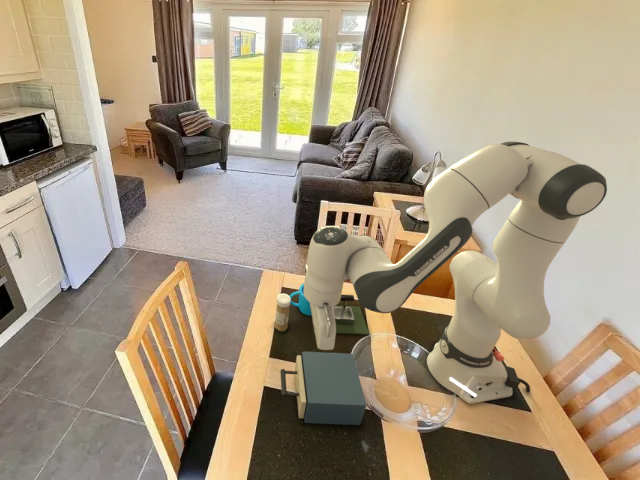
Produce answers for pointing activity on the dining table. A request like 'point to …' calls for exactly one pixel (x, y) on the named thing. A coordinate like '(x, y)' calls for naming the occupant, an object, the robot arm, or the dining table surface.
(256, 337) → the dining table surface
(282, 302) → the sprinkles bottle
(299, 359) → the drawer
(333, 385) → the cabinet
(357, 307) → the mat
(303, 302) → the mug
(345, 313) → the metal tray
